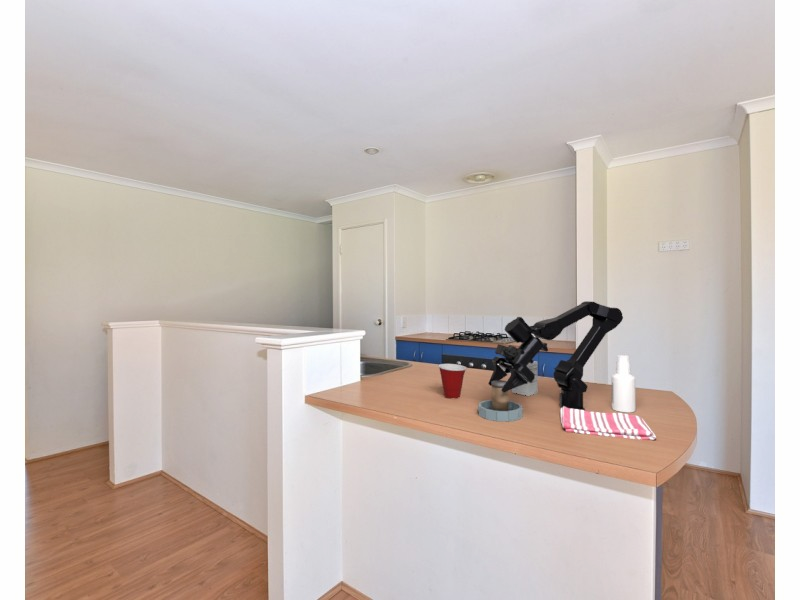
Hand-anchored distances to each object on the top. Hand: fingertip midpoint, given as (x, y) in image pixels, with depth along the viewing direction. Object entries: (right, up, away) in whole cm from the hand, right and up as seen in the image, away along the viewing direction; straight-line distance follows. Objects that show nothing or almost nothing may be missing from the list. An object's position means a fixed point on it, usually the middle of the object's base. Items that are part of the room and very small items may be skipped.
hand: (495, 387), depth 127 cm
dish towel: (+29, -9, -12) cm, 33 cm away
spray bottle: (+43, -8, +3) cm, 44 cm away
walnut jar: (+2, -8, 0) cm, 8 cm away
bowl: (+1, -9, 0) cm, 9 cm away
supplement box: (+18, -8, +27) cm, 33 cm away
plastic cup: (-11, -9, +23) cm, 27 cm away
